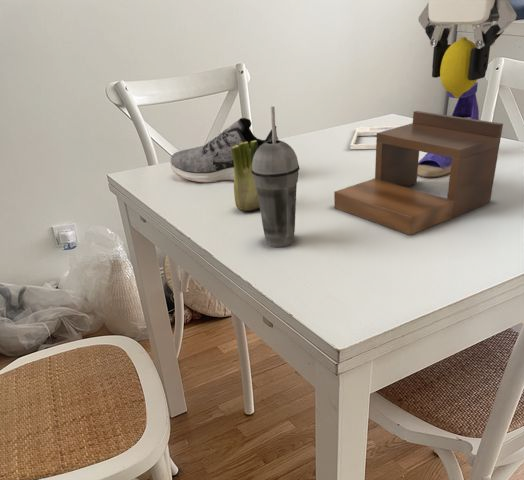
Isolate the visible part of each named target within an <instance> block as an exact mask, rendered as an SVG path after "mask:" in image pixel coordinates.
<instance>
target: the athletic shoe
mask: <svg viewBox="0 0 524 480" xmlns="http://www.w3.org/2000/svg"><path fill="white" fill-rule="evenodd" d="M251 126H252V122H251V119H250V118H247V117H240V118H239V119H238V120H236V121H235V122H233V124H231V125H230V126H228V128H226V129H224V130H223V131H222V132H220V133H219V134H218V135H217V136H215V137H214V138H213V139H211V140H209V141H208V142H206V143H205V144H204V145H201V146H196V147H192V148H191V147H190V148H187V149H182V150H179V151H175V152H174V153H173V154H172V155H171V156H170V167H171V170H172V172H173V173H174V174H175V175H177V176H178V177H181V178H182V179H184V180H188V181H192V182H196V183H205V184H207V183H208V184H209V183H217V182H223V181H224V182H225V181H232V182H234V175H235V172H234V162H233V156H232V150H231V148H232V147H233V146H236V145H238V146H239V144H240V143H244V142H248V144H249V150H250V142H251V141H255V140H256V141H257V149H258V148H259V147H260V146H261V145H262V144H264V143H265V142H267V141H271V140H272V128H271V129H270V131H269V133H268V134H267V136H266V138H265V139H261V138H258V137H256V135H254V133H253V132H252V130H251V129H250V128H251ZM275 130H276V140H279V137H278V133H277V125H275Z"/></svg>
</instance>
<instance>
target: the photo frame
mask: <svg viewBox="0 0 524 480" xmlns="http://www.w3.org/2000/svg"><path fill="white" fill-rule="evenodd" d="M401 126H402V125H392V126H391V125H389V126H388V125H387V126H385V125H384V126H357V127H356V130H355V132H354V135H353V137H352V139H351V141H350V144H349V149H350V150H376V143H358V144H357V143H356V142H357V139H358V137H367V136H368V137H369V136H371V137H372V136H377V133H379V132H383V131H386V130H390V129H394V128H397V127H401Z"/></svg>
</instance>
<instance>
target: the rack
mask: <svg viewBox="0 0 524 480" xmlns="http://www.w3.org/2000/svg"><path fill="white" fill-rule="evenodd" d="M400 126H401V127H397V128H394V129H390V130H386V131H383V132H379V133H377V135H376V139H375V140H376V142H375V144H376V149H375V165H374V166H375V169H374V178H372V179H369V180H366V181H363V182H360V183H356V184H353V185H351V186H347V187H344V188H341V189H338V190H336V191H334V192H333V194H334V199H333V201H334V203H333V205H334V206H333V207H334V209H337V210H339V211H341V212H345V213H348V214H350V215H353V216H356V217H358V218H361V219H364V220H366V221H370V222H373V223H375V224H378V225H380V226H383V227H387V228H388V229H392V230H395V231H397V232H400V233H403V234H406V235H408V236H413V235H415V234H417V233H420V232H423V231H424V230H426V229H430V228H431V227H434V226H437V225H440V224H441V223H444V222H446V221H448V220H451V219H454V218H456V217H458V216H461V215H463V214H466V213H468V212H470V211H473V210H476V209H478V208H481V207H483V206H486V205H488V204H490V203H491V198H492V193H493V188H494V181H495V176H496V169H497V164H498V163H497V162H498V158H499V151H500V146H501V145H500V144H501V138H502V133H503V126H504V123H501V122H494V121H487V120H482V119H481V120H480V119H479V120H475V119H468V118H461V117H455V116H452V115H447V114H440V113H434V112H428V111H422V110H421V111H420V110H414V111H413V113H412V123H411V122H410V123H408V124H405V125H400ZM420 152H422V153H426V154H427V153H431V154H436V155H440V156H445V157H449V158H452V162H451V170H450V174H449V179H448V188H447V195H446V196H447V197H442V196H439V195H435V194H432V193H429V192H426V191H425V192H424V191H421V190H417V189H414V188H410V187H409V186H412V185H414V184H417V183H418V182H417V181H418V174H417V172H418V162H419V161H420V159H419V158H420Z"/></svg>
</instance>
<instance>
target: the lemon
mask: <svg viewBox="0 0 524 480" xmlns="http://www.w3.org/2000/svg"><path fill="white" fill-rule="evenodd" d="M450 45H451V46H450V47H449V48H448V49H447V50H446V52H445V54H444V56H443V59H442V63H441V68H440V77H439V78H440V83H441V85H442V87H443V89H444V90H445V91H446V90H447V91H448V92H450V93H452V94H453V96H454V97H455V98H454V99H459V97H460V96H461V95H462V94H463V93H464V92H466V91H468V90H469V89H471V88H472V87H473V85H474V84H475V83H476V82H478V79H477V80H473V81H471V80H469V79H468V72H469V63H470V54H471V50H472V49H473V48H476V45H475V42H473V41H471V40H470V39H468V38H467V37H466V36H462V37H460V39H458V40H457V41H454V42H453V43H452V44H450Z"/></svg>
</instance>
